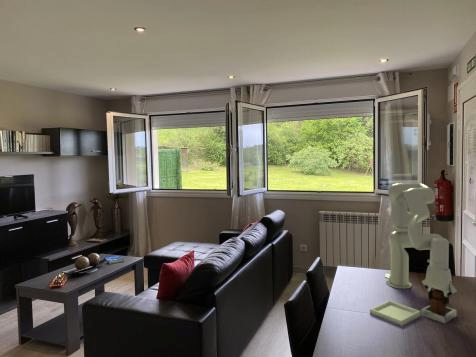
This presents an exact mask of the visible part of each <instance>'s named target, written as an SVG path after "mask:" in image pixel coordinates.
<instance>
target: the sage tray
mask: <svg viewBox="0 0 476 357" xmlns="http://www.w3.org/2000/svg"><path fill="white" fill-rule="evenodd" d="M369 314H370V315H371V316H374V317H377V318H380V319H381V320H384V321H387V322H389V323H392V324H394V325H397V326H399V327H403V326H405V325H408V324H409V323H410V322H412V321H414V320H416V319H418V318H420V317H421V310H418V309H416V308H412V307H410V306H407V305H403V304H401V303H398V302H395V301H393V300H387V301H384V302H382V303H379V305H375V306H374V307H373V306H372V307H371V308H370V309H369Z"/></svg>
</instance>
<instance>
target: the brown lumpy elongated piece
mask: <svg viewBox="0 0 476 357" xmlns="http://www.w3.org/2000/svg"><path fill="white" fill-rule="evenodd" d="M444 296H445V295H444V292H443V291H441V290H437V289H433V298H431V300H429V305H430V308H431V311H432V312H434V313H437V314H440V315H443V314H445V313H444V312H445V310H446V307H447V304H446V305H444V304H443V297H444Z"/></svg>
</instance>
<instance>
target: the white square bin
mask: <svg viewBox="0 0 476 357" xmlns="http://www.w3.org/2000/svg"><path fill="white" fill-rule="evenodd" d="M443 314H444V315H443ZM443 314H442V315H440V314H437V313H434V312H432V311H431V308H430V304H429V305H426V306H425V307H423V308H421V310H420V316H422V317H425V318H428V319H431V320H434V321H437V322H439V323H442V324H446V323H448V322H449V321H451V320H453V319H454V318H456V317H457V309H454V308H451V307H448V306H446V310H445V312H444V313H443Z"/></svg>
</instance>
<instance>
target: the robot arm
mask: <svg viewBox="0 0 476 357" xmlns="http://www.w3.org/2000/svg"><path fill="white" fill-rule="evenodd" d="M387 193H388V198H389V201H390V214H391V217H390V218H391V220H390V221H391V225H392V227H393V229H398V230H394V231H391V232H390V233H389V235H388V242H389V243H388V244H389V249H390V250H389V251H390V274H389V273H386V274H385V276H384V278H385V279H387V285H388V286H390V287H391V288H395V289H399V290H400V289H401V290H402V289H403V290H406V289H410V288H412V287H413V286H412V285H413V284H412V282H410V281H409V278H410V276H409V275H410V274H409V271H410V270H409V260H410V258H409V253H408V252H407V251H406V249H407V248H408V249H409V248H414V249H416V250H418V251H423V250H429V259H427V261H426V262H427V263H429V265H428V264H427V268H426V273H425V274H426V275H425V278H424V279H423V280H422V281H421V284H422V285H423V286H424V288H425V289H426V290H427V292H428V293H427V294H428V295H427V296H428V301H430V300H431V298H433V290H435V289H437V290H441V291H443V292H444V297H443V304H444V305H446V306H447V305H448V304H449V303H450V296H451V295H454V294H455V293H456V292H457V289H456V287H455V286H454V285H453V284H452V273H451V268H449V254H450V253H449V251H450V250H449V249H450V248H449V247H450V243H449V242H450V241H449V240H448V239H447V238H444V237H443V236H441V235H440V234H438V233H423V221H425V220H426V219H428V218H429V216H430V215H431V213H430V210H429V208H428V204H433V203H434V202H435V201H436V193H435V191H434V190H433V189H432V188H431V187H430V186H427V185H426V184H424V183H421V182H401V183H400V182H399V183H393V184H391V185H390V186H389V187H388V192H387ZM408 210H409V211H408ZM399 229H400V230H399ZM406 229H407V230H406ZM449 290H450V291H449Z"/></svg>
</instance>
